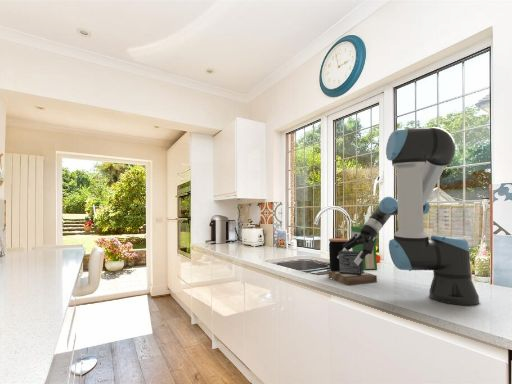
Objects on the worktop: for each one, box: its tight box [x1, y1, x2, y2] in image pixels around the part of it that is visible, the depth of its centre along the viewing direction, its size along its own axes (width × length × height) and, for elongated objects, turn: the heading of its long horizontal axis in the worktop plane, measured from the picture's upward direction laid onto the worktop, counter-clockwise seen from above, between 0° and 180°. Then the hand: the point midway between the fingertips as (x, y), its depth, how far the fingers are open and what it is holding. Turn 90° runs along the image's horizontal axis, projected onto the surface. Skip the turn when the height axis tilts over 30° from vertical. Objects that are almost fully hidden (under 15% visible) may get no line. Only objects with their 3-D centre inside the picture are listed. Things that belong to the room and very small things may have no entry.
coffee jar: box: [328, 237, 350, 272], centre depth 157 cm, size 11×11×18 cm
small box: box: [338, 250, 365, 275], centre depth 137 cm, size 11×6×10 cm, turn 57°
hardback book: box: [350, 225, 378, 272], centre depth 167 cm, size 18×7×24 cm, turn 1°
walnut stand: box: [328, 271, 378, 286], centre depth 137 cm, size 16×16×3 cm
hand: (347, 261), depth 136 cm, fingers open, 13 cm apart
